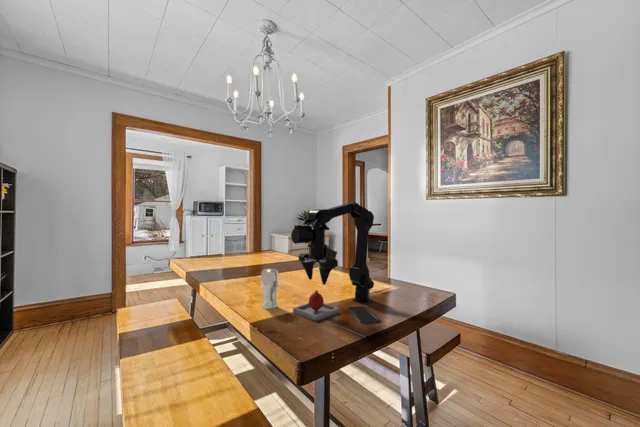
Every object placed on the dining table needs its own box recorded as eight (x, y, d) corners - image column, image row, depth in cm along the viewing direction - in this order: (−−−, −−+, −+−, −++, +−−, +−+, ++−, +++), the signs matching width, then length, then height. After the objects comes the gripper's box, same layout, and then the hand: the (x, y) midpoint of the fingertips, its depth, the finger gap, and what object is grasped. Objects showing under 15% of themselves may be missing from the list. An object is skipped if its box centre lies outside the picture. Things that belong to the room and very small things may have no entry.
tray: (316, 304, 117) (316, 300, 117) (338, 312, 108) (339, 308, 108) (293, 312, 108) (293, 307, 108) (315, 321, 99) (316, 316, 99)
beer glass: (274, 310, 110) (274, 272, 110) (258, 308, 112) (258, 271, 112) (280, 304, 117) (280, 268, 117) (265, 303, 119) (265, 268, 118)
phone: (364, 306, 114) (381, 319, 100) (364, 308, 114) (380, 323, 100) (346, 307, 112) (360, 321, 98) (346, 310, 112) (360, 325, 98)
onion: (323, 313, 105) (323, 292, 105) (308, 313, 105) (308, 292, 105) (323, 308, 111) (323, 288, 111) (309, 308, 111) (309, 288, 111)
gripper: (349, 243, 106) (348, 284, 106) (320, 238, 121) (319, 274, 121) (325, 245, 99) (325, 288, 99) (298, 240, 114) (297, 278, 114)
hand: (317, 281), depth 109 cm, fingers open, 9 cm apart
